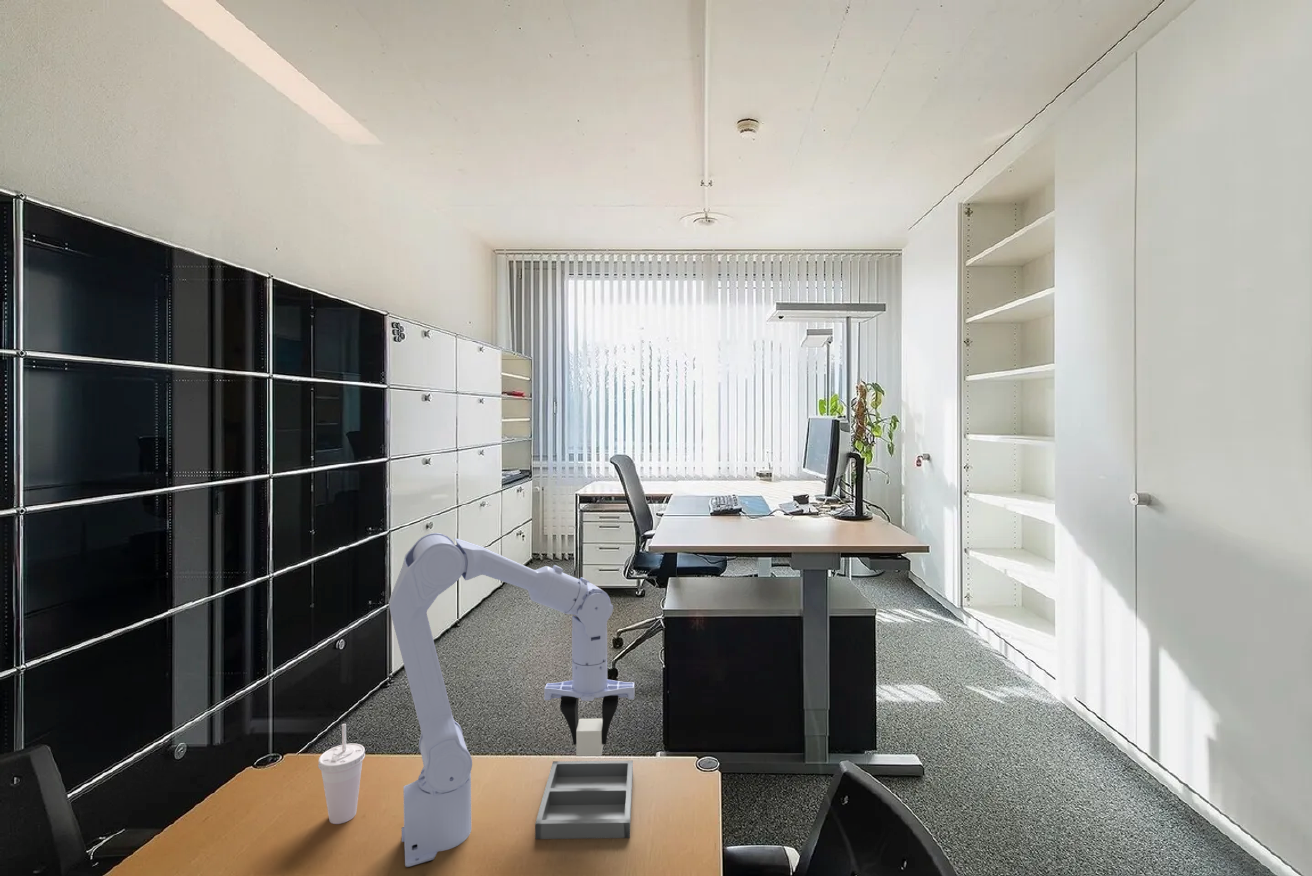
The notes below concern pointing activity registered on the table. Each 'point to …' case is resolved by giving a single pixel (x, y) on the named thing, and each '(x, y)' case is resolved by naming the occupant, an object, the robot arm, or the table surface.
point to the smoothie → (342, 779)
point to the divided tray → (586, 800)
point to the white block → (589, 737)
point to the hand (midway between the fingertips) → (590, 741)
